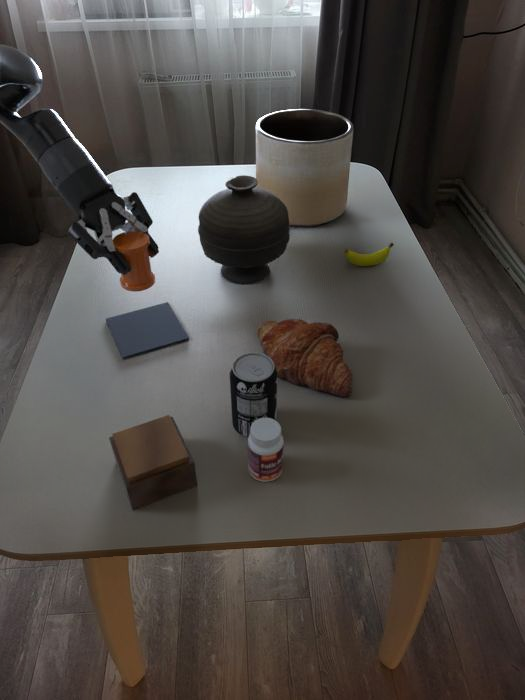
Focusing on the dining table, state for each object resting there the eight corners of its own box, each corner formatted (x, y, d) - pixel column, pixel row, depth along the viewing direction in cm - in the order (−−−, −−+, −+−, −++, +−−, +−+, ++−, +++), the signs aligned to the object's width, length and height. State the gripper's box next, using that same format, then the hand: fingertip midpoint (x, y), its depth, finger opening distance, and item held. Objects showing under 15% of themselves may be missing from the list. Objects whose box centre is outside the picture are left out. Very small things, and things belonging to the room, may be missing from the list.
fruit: (388, 260, 118) (392, 240, 115) (391, 266, 116) (395, 245, 113) (341, 264, 117) (344, 243, 114) (344, 269, 116) (346, 248, 112)
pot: (185, 286, 110) (181, 187, 98) (217, 249, 124) (217, 158, 112) (271, 304, 106) (278, 203, 94) (295, 263, 120) (303, 171, 108)
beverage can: (257, 402, 87) (256, 343, 79) (285, 426, 83) (287, 368, 75) (223, 422, 84) (219, 363, 76) (251, 449, 80) (249, 390, 72)
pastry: (244, 390, 89) (243, 352, 84) (258, 330, 100) (258, 294, 95) (350, 401, 87) (356, 363, 82) (352, 338, 98) (357, 302, 93)
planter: (271, 183, 147) (271, 104, 134) (353, 194, 142) (362, 113, 129) (243, 221, 131) (240, 136, 118) (335, 236, 126) (343, 148, 113)
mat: (122, 359, 94) (122, 357, 94) (105, 320, 103) (105, 318, 102) (189, 340, 98) (189, 337, 98) (168, 303, 107) (167, 301, 106)
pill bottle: (263, 489, 75) (263, 449, 69) (241, 466, 77) (239, 426, 72) (289, 470, 77) (291, 430, 71) (267, 449, 80) (267, 409, 74)
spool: (138, 295, 91) (130, 253, 85) (113, 284, 93) (104, 242, 88) (162, 279, 94) (156, 237, 89) (137, 268, 97) (130, 227, 91)
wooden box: (132, 510, 72) (124, 483, 68) (115, 460, 78) (107, 432, 74) (197, 485, 75) (193, 457, 71) (176, 439, 81) (171, 411, 77)
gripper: (45, 179, 80) (118, 275, 83) (118, 148, 89) (182, 235, 92) (32, 204, 86) (100, 292, 89) (101, 172, 95) (161, 253, 98)
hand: (141, 263), depth 90 cm, fingers closed on spool, 6 cm apart
